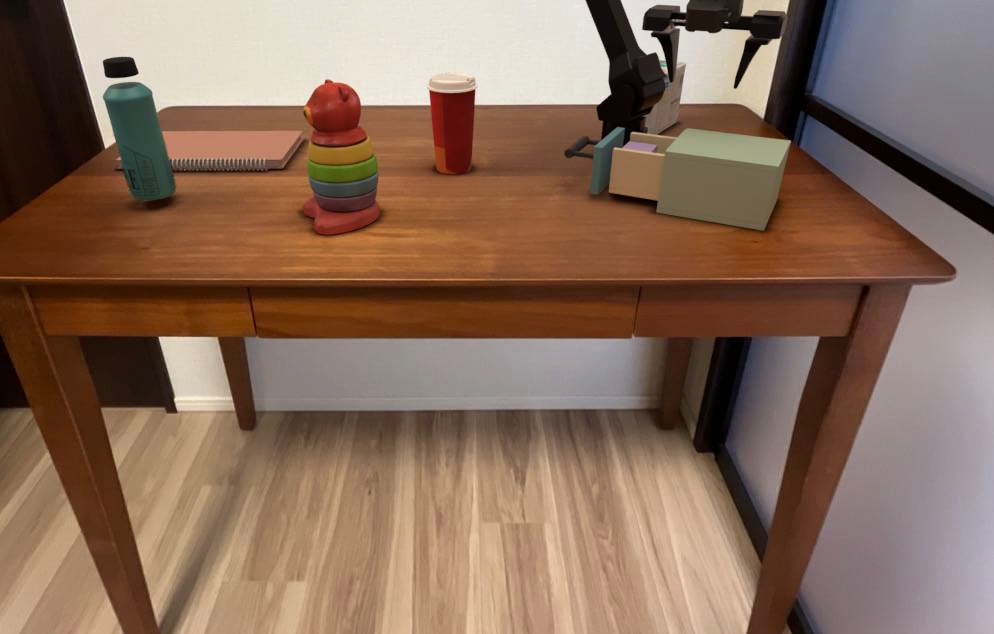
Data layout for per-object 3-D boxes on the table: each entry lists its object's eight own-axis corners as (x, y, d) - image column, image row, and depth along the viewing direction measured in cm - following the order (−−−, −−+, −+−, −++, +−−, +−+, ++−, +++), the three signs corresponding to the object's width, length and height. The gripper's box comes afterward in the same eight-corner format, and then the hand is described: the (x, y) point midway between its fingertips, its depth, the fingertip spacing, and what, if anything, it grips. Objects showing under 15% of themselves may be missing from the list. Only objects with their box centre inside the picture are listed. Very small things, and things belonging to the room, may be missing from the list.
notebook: (115, 172, 116) (111, 160, 115) (156, 140, 130) (153, 129, 129) (281, 172, 115) (279, 160, 113) (304, 140, 129) (302, 129, 128)
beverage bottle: (189, 197, 106) (155, 53, 95) (159, 213, 101) (120, 64, 90) (153, 192, 108) (116, 51, 97) (122, 208, 103) (79, 61, 92)
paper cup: (485, 164, 116) (485, 74, 109) (465, 179, 111) (464, 85, 103) (442, 158, 119) (439, 70, 112) (420, 172, 113) (416, 80, 106)
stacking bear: (300, 209, 101) (281, 78, 92) (368, 197, 105) (357, 70, 95) (318, 237, 93) (300, 97, 83) (392, 224, 96) (382, 87, 87)
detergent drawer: (557, 188, 104) (560, 141, 101) (582, 166, 112) (585, 122, 108) (680, 208, 97) (689, 159, 93) (698, 184, 105) (706, 138, 101)
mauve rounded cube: (616, 182, 103) (620, 149, 100) (625, 173, 106) (629, 141, 103) (645, 186, 101) (649, 153, 99) (653, 177, 104) (657, 144, 102)
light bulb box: (644, 117, 138) (652, 58, 132) (678, 122, 134) (687, 62, 128) (620, 131, 131) (627, 69, 125) (655, 137, 127) (664, 73, 121)
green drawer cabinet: (656, 212, 98) (665, 150, 94) (677, 185, 107) (686, 127, 102) (763, 231, 93) (778, 166, 88) (776, 201, 101) (791, 140, 97)
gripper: (637, -32, 94) (624, 90, 103) (788, -27, 87) (760, 105, 95) (660, -39, 103) (646, 75, 111) (799, -35, 95) (773, 86, 104)
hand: (703, 85), depth 105 cm, fingers open, 9 cm apart
